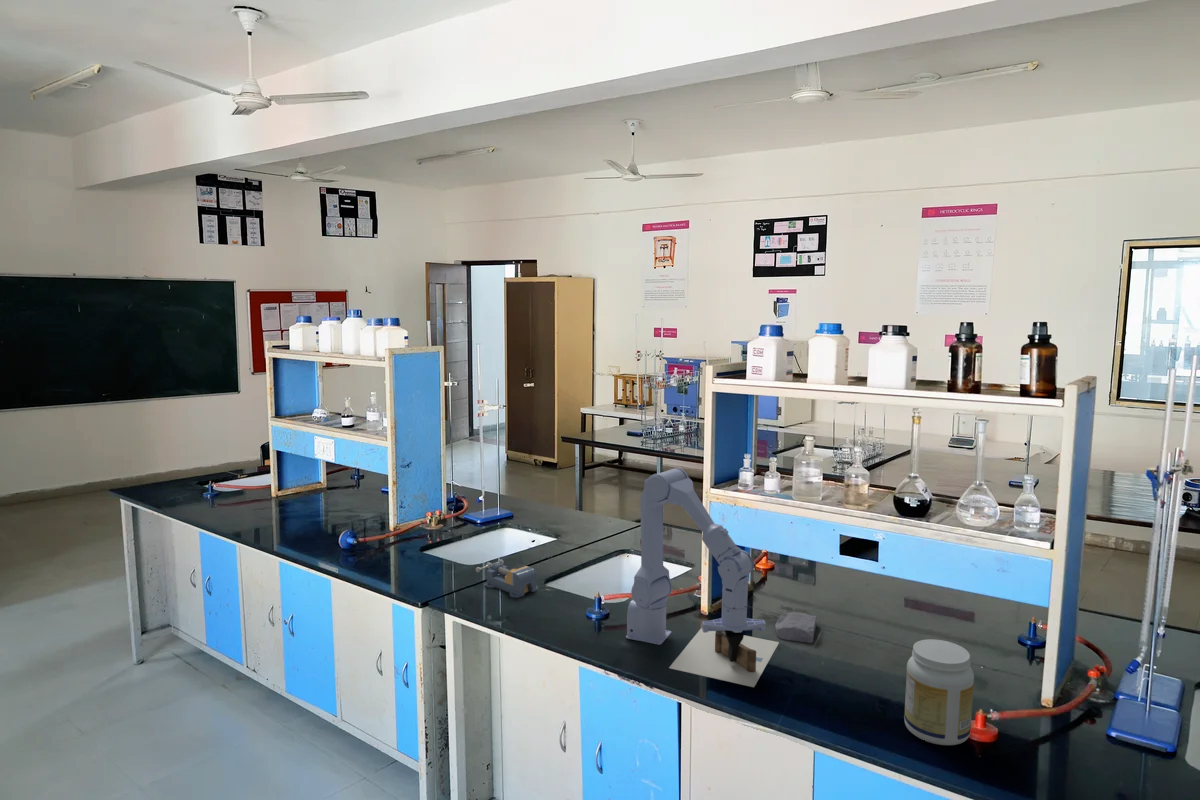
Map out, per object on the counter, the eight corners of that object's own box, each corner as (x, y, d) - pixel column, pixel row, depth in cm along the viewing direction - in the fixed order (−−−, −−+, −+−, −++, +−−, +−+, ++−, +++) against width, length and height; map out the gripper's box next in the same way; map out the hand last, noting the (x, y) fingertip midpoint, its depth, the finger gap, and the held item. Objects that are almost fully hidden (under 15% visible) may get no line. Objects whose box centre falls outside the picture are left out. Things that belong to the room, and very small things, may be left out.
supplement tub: (951, 713, 161) (957, 636, 159) (982, 747, 149) (988, 664, 147) (893, 714, 161) (898, 637, 158) (919, 749, 149) (924, 666, 146)
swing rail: (713, 650, 188) (713, 629, 187) (719, 648, 189) (720, 627, 188) (751, 672, 177) (751, 650, 176) (757, 670, 178) (758, 648, 177)
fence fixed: (713, 652, 187) (714, 633, 187) (727, 633, 197) (728, 615, 197) (721, 653, 186) (722, 635, 186) (735, 634, 197) (735, 617, 196)
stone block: (775, 647, 195) (816, 645, 191) (772, 629, 194) (813, 626, 191) (780, 629, 206) (818, 627, 203) (777, 611, 206) (815, 609, 202)
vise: (541, 589, 228) (541, 567, 227) (515, 599, 220) (514, 577, 219) (501, 573, 240) (501, 553, 239) (474, 583, 232) (474, 562, 231)
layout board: (668, 669, 180) (668, 667, 180) (702, 628, 201) (702, 626, 201) (753, 688, 171) (753, 687, 171) (779, 643, 192) (779, 642, 192)
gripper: (706, 612, 174) (705, 668, 176) (770, 610, 175) (768, 667, 177) (700, 599, 181) (699, 654, 183) (761, 598, 182) (759, 652, 184)
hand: (732, 659), depth 181 cm, fingers closed, pressing on swing rail
